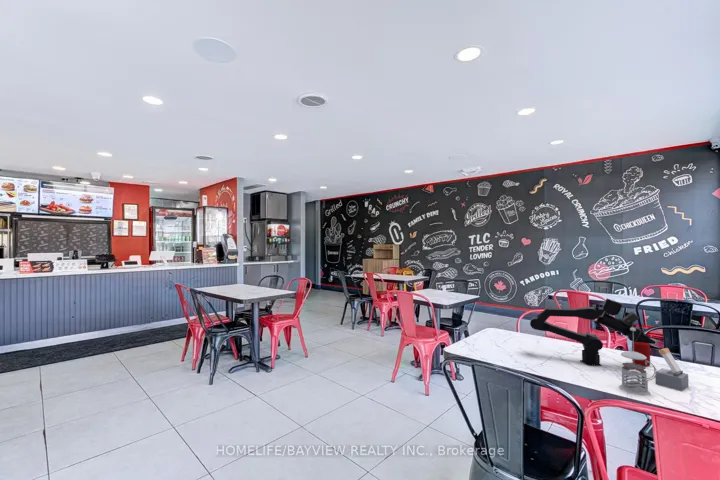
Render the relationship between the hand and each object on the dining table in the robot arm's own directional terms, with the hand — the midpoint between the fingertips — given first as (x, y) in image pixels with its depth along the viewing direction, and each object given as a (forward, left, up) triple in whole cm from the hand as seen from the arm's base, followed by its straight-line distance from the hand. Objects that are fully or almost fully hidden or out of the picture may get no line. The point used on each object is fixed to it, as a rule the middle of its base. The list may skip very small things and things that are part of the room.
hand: (652, 340), depth 148 cm
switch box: (-4, -13, -15) cm, 21 cm away
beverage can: (+5, +12, -15) cm, 20 cm away
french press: (-23, -19, -15) cm, 34 cm away
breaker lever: (-3, -15, -9) cm, 18 cm away
